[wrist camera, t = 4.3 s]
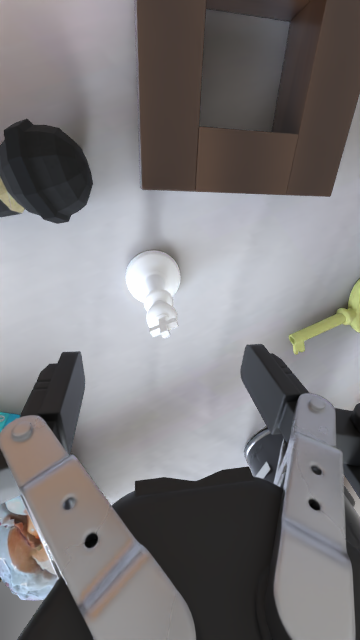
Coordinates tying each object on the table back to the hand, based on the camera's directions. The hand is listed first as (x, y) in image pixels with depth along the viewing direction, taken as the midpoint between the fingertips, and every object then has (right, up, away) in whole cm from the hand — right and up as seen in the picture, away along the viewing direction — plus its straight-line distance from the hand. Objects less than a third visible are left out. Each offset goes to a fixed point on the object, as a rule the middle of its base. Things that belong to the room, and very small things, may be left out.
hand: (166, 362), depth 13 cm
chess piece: (-2, +6, +11) cm, 13 cm away
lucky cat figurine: (-18, -20, +22) cm, 35 cm away
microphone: (-15, +12, +6) cm, 20 cm away
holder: (+5, +19, +5) cm, 20 cm away
